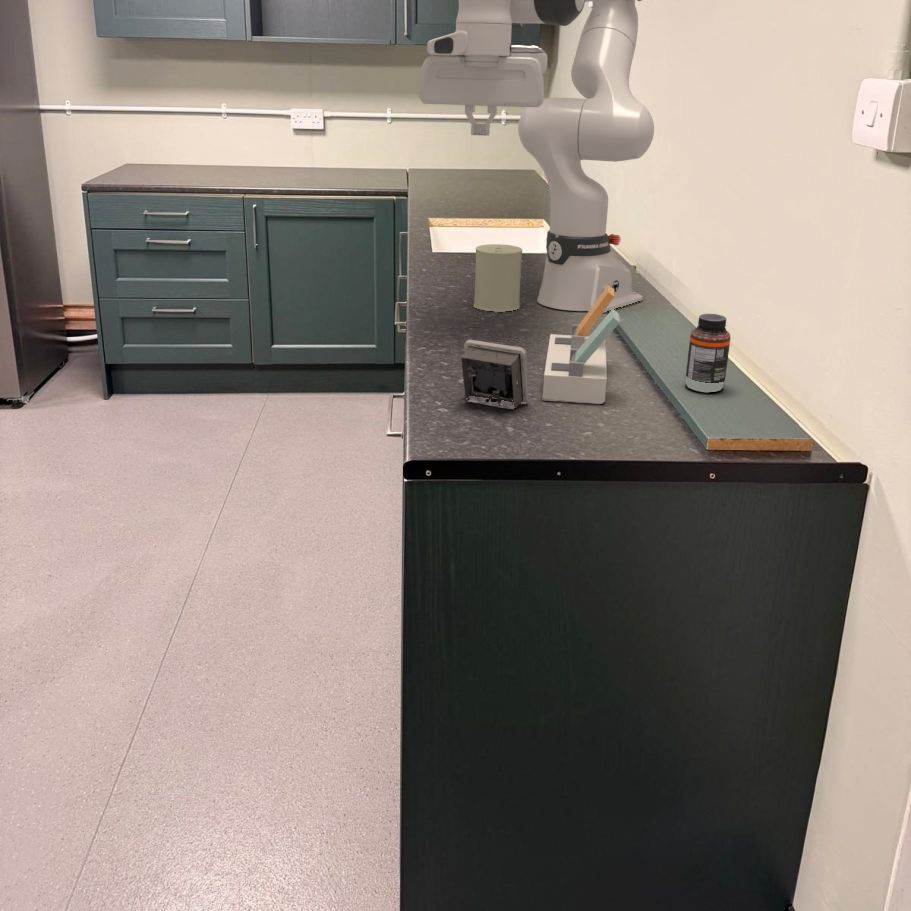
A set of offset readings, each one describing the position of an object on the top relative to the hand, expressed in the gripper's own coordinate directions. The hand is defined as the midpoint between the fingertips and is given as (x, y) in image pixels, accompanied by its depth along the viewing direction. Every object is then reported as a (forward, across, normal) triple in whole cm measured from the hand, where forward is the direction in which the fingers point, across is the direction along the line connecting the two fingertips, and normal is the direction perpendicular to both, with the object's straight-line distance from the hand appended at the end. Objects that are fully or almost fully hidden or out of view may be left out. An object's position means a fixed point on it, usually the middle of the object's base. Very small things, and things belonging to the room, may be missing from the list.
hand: (480, 135), depth 159 cm
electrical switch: (+34, -7, +35) cm, 50 cm away
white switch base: (+34, -18, +18) cm, 43 cm away
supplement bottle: (+34, -38, +21) cm, 56 cm away
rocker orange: (+29, -18, +14) cm, 37 cm away
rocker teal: (+29, -18, +28) cm, 45 cm away
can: (+34, -2, -22) cm, 41 cm away
